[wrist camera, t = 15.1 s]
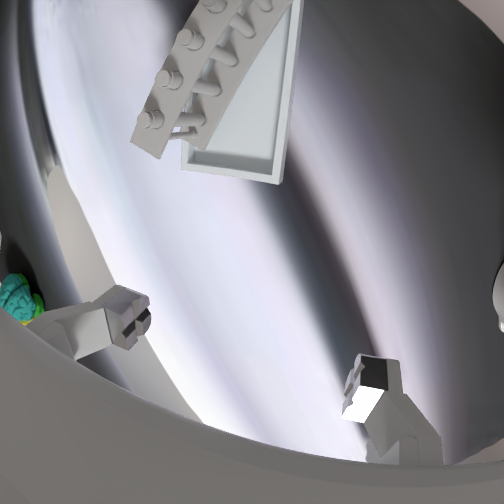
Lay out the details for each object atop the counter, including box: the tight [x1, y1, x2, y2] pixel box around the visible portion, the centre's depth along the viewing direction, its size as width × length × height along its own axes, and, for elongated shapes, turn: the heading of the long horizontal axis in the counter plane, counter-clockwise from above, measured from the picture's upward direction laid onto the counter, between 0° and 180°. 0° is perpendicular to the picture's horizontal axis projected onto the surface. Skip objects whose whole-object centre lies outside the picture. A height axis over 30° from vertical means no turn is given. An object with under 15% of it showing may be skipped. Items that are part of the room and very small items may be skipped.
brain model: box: [0, 274, 45, 326], centre depth 67 cm, size 24×19×15 cm
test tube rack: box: [130, 0, 294, 159], centre depth 26 cm, size 25×4×13 cm, turn 151°
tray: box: [181, 0, 304, 185], centre depth 32 cm, size 14×33×2 cm, turn 174°
